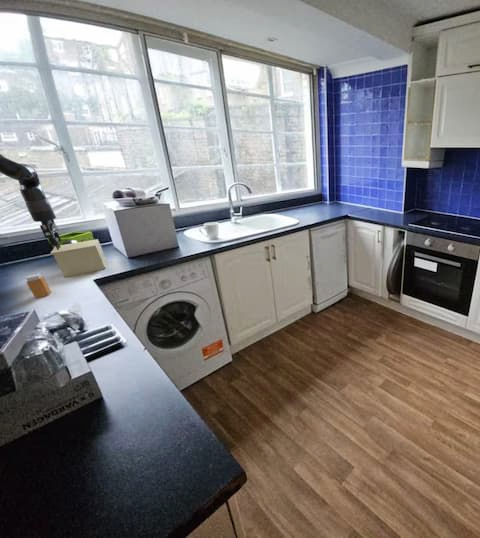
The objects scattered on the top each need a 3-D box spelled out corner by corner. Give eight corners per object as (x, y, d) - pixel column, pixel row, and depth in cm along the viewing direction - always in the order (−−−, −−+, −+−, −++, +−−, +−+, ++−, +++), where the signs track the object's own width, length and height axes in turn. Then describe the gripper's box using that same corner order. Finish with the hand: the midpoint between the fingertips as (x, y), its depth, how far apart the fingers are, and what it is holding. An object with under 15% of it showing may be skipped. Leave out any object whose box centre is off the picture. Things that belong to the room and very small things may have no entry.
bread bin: (64, 277, 141) (53, 254, 136) (68, 268, 151) (58, 247, 146) (105, 268, 149) (96, 247, 144) (107, 261, 159) (98, 240, 155)
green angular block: (101, 251, 175) (92, 231, 170) (77, 260, 162) (67, 238, 157) (81, 251, 177) (72, 231, 172) (56, 260, 164) (45, 238, 159)
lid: (50, 254, 136) (44, 242, 133) (56, 247, 146) (51, 236, 144) (96, 247, 144) (91, 235, 142) (98, 240, 155) (94, 229, 152)
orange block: (35, 298, 122) (24, 278, 118) (37, 294, 125) (27, 275, 121) (49, 295, 124) (39, 275, 120) (51, 291, 127) (41, 272, 123)
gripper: (33, 208, 137) (49, 241, 144) (24, 213, 127) (42, 248, 133) (54, 206, 141) (69, 238, 148) (48, 210, 131) (64, 245, 137)
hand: (56, 243), depth 141 cm, fingers open, 8 cm apart
